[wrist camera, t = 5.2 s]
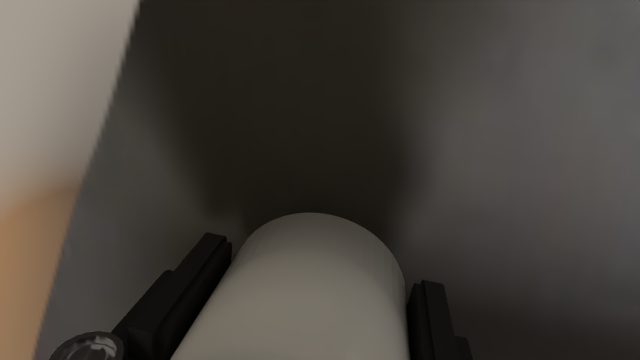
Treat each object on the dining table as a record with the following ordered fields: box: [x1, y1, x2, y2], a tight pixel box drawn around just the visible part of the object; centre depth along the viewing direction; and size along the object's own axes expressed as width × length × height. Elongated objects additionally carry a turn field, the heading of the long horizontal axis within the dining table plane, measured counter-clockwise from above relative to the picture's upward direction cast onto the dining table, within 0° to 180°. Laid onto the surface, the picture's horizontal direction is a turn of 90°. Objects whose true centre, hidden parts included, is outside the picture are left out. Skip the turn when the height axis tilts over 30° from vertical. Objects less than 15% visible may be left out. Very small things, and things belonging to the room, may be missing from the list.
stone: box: [170, 213, 410, 360], centre depth 10 cm, size 5×5×5 cm
